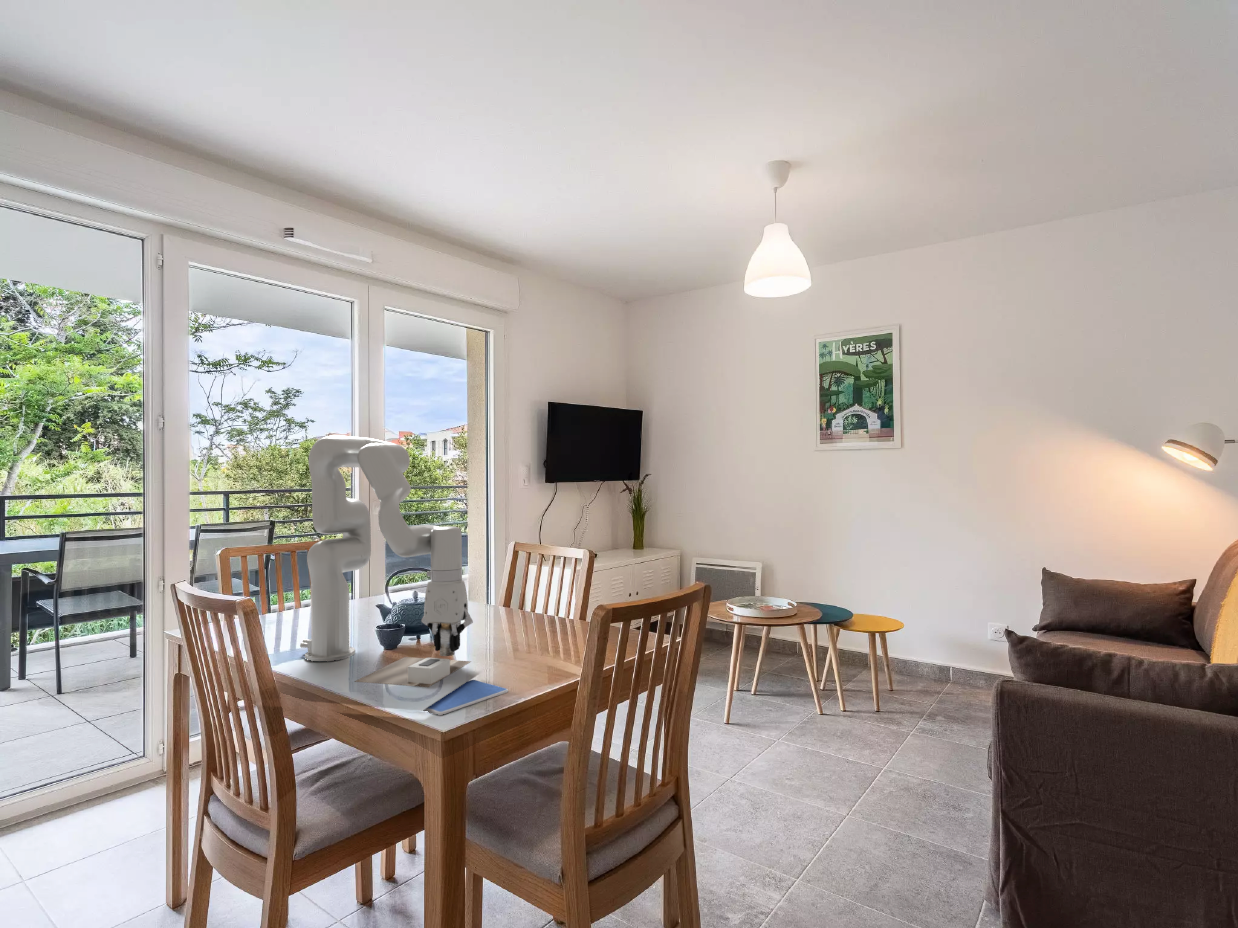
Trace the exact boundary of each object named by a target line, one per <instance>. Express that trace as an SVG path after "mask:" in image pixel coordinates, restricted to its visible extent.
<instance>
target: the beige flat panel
mask: <svg viewBox="0 0 1238 928" xmlns="http://www.w3.org/2000/svg"><path fill="white" fill-rule="evenodd" d="M426 658H427V657H426ZM426 658H424V657H423V658H422V657H410V656H404V657H402V658H400V659H397V660H395V661H394V662H392V663H389V664H387V665H385V666H383V667H381V668H379V669H376V670H375V671H372V672H370V673H369V674H367V675H364V676H363V677H360V678H359V679H357V680H354V682H355V683H356V682H357V683H369V684H370V683H371V684H383V685H393V686H395V685H396V686H397V685H398V686H409V687H418V688H419V687H422V688H430V687H432V686H433V685H435V684H437V683H438V682H440V681H441V680H443V679H445V678H447V677H448V676H449V675H452V674H453V673H455V672H456V671H458V670H459V669H460V670H461V668H464V667H465V666H467V665H468V664H470V663H471V662H472V661H470V660H458V659H457V660H456V659H454V660H453V659H450V674H449V675H447V676H445V677H443V678H442V679H440V680H438V681H436V682H434V683H432V684H423V683H413V682H408V666H410V665H413V664H415V663H417V662H419V661H421V660H423V659H426Z"/></svg>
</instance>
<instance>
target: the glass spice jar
mask: <svg viewBox="0 0 1238 928" xmlns="http://www.w3.org/2000/svg"><path fill="white" fill-rule="evenodd" d="M451 635H453V633H452V626H451V624H446V623H441V628H440V650H439V656H441V657H450V656H454V655H455V654H456V653H455V652H456V651H454V652H451Z"/></svg>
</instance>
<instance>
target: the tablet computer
mask: <svg viewBox="0 0 1238 928" xmlns="http://www.w3.org/2000/svg"><path fill="white" fill-rule="evenodd" d="M508 691H509V689H508V688H505V687H502V686H498V685H495V684H492V683H488V682H483V681H482V680H477V679H470V680H467V681H465V682H464V683H463V684H461V685H459V686H458V687H456V688H455V689H454V690H451V691H450V692H449V693H447V694H446V695H444V696H443V697H441V698H440V699H438V700H437V701H435V702H434V703H432V704H430V705H429V706H428V707H426V708H424V709H423V712H425V711H428V712H429V714H431V713H433V714H432V715H435V714H438V715H437V716H443V714H444V715H446V714H449V713H451V712H454V711H457V710H460V709H463V708H466V707H469V706H472V705H475V704H477V703H481V702H483V701H487V700H489V699H492V698H495V697H499V696H501V695H504V694H507V693H509V692H508ZM428 712H427V713H428Z"/></svg>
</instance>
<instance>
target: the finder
mask: <svg viewBox="0 0 1238 928" xmlns="http://www.w3.org/2000/svg"><path fill="white" fill-rule="evenodd" d="M450 660H451V659H448V658H438V657H426V659H423V660H421V661H419V662H417V663H415V664H413V665H410V666H408V682H413V683H423V684H432V683H434V682H436V681H438V680H440V679H442V678H443V677H445V676H447V675H448V676H449V674H450ZM450 675H451V674H450ZM448 676H447V677H448ZM445 678H446V677H445ZM443 679H444V678H443ZM443 679H442V680H443ZM440 681H441V680H440ZM438 682H439V681H438Z"/></svg>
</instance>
